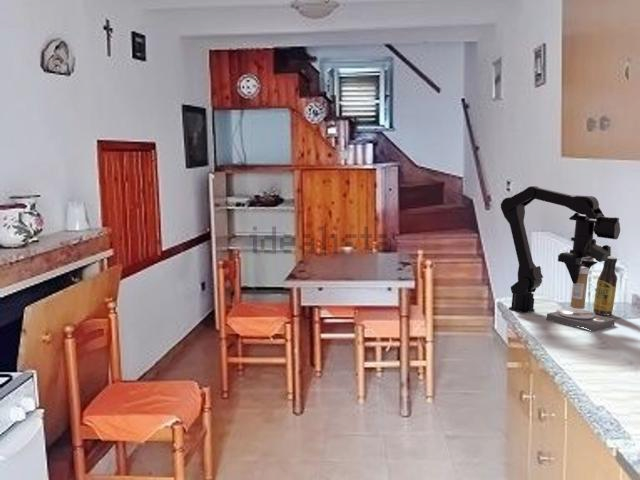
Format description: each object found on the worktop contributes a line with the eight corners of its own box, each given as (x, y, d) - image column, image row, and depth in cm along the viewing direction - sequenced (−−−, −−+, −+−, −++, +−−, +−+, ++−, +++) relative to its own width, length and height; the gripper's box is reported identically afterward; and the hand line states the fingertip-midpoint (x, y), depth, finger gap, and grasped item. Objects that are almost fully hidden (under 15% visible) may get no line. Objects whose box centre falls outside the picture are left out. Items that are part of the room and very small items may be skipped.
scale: (546, 319, 229) (547, 312, 229) (568, 314, 238) (569, 307, 238) (592, 331, 217) (593, 323, 217) (614, 325, 227) (615, 317, 226)
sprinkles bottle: (587, 308, 228) (592, 268, 226) (578, 309, 225) (583, 268, 223) (575, 305, 231) (580, 265, 229) (566, 306, 229) (571, 266, 227)
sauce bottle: (588, 312, 243) (595, 255, 240) (601, 311, 246) (608, 255, 243) (604, 316, 238) (610, 259, 235) (617, 315, 240) (623, 258, 238)
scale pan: (549, 313, 230) (549, 310, 230) (568, 309, 237) (568, 306, 237) (582, 321, 221) (582, 318, 221) (600, 316, 229) (601, 313, 228)
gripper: (592, 240, 213) (586, 290, 215) (621, 237, 225) (616, 284, 228) (559, 235, 221) (554, 283, 224) (589, 232, 234) (584, 278, 236)
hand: (578, 282), depth 228 cm, fingers closed on sprinkles bottle, 4 cm apart
